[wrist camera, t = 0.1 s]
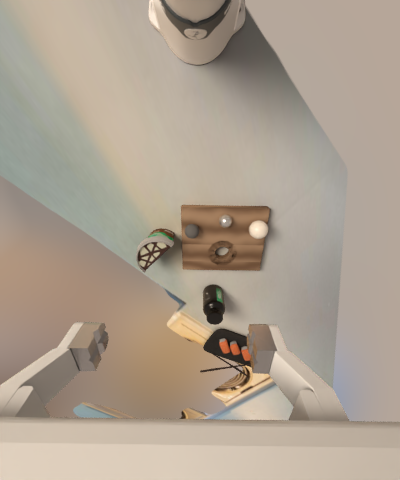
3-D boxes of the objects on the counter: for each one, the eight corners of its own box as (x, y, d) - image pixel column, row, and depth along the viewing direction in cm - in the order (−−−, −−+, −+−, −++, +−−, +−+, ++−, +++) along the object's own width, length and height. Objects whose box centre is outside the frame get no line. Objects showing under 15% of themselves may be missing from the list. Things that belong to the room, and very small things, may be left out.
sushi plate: (279, 346, 85) (282, 355, 82) (240, 383, 97) (241, 392, 94) (217, 323, 79) (218, 331, 76) (184, 366, 91) (184, 375, 88)
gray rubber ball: (185, 221, 57) (183, 227, 54) (199, 221, 57) (199, 227, 54) (185, 234, 59) (184, 240, 55) (199, 234, 59) (199, 241, 55)
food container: (161, 216, 59) (154, 230, 50) (177, 230, 61) (173, 246, 52) (135, 242, 63) (124, 260, 54) (151, 255, 65) (143, 274, 56)
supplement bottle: (217, 281, 70) (220, 307, 59) (225, 295, 72) (229, 322, 62) (199, 288, 71) (199, 315, 60) (208, 301, 74) (209, 329, 63)
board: (181, 205, 58) (181, 207, 55) (267, 206, 58) (269, 209, 55) (183, 264, 67) (182, 269, 64) (257, 266, 67) (259, 270, 64)
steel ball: (218, 212, 56) (219, 217, 53) (231, 213, 56) (233, 217, 53) (218, 224, 58) (219, 229, 54) (230, 224, 58) (232, 229, 54)
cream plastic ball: (248, 217, 57) (252, 224, 52) (266, 217, 57) (272, 224, 52) (246, 234, 59) (250, 242, 54) (263, 234, 59) (268, 242, 54)
